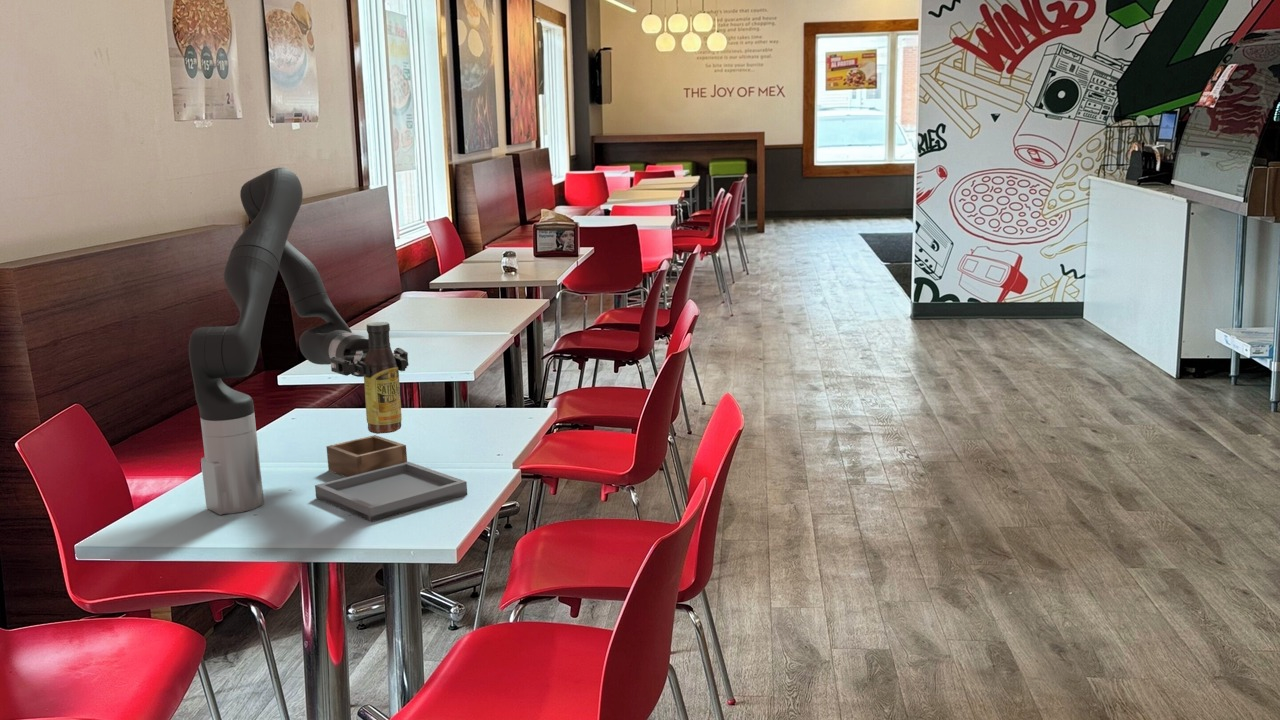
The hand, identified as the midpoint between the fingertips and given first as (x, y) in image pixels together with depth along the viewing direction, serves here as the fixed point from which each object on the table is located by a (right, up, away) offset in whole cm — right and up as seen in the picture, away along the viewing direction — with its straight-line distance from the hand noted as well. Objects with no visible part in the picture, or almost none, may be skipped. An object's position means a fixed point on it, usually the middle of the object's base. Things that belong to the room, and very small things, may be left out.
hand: (385, 368), depth 203 cm
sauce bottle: (-1, -12, +4) cm, 12 cm away
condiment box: (-9, -21, +24) cm, 33 cm away
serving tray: (0, -24, +7) cm, 25 cm away
